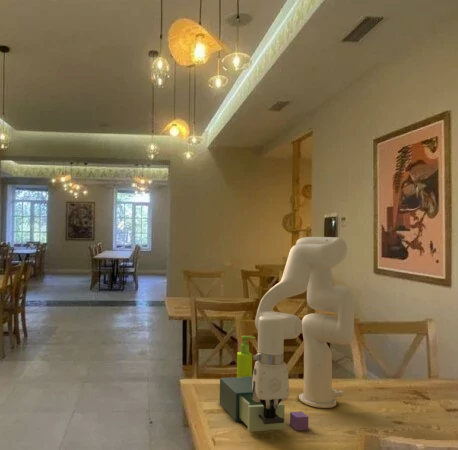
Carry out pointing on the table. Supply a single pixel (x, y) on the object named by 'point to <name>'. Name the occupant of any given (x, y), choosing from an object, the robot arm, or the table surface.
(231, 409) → the small teal cabinet
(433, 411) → the table surface
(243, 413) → the drawer
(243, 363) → the soap dispenser
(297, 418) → the purple rounded cube
